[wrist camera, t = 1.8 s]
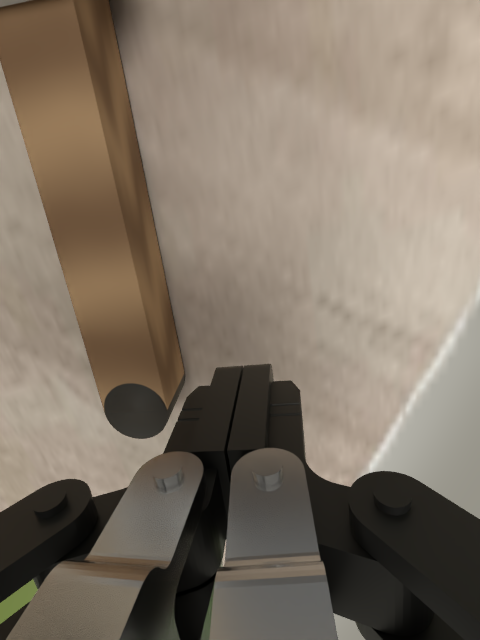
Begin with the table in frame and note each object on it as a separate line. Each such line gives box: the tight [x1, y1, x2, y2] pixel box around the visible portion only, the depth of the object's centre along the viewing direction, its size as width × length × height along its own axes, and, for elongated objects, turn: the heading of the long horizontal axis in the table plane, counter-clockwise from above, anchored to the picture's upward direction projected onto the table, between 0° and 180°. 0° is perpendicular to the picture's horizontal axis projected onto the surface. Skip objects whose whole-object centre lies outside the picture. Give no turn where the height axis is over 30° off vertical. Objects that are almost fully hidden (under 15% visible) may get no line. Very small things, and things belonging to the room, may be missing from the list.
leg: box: [0, 0, 185, 439], centre depth 19 cm, size 24×4×4 cm, turn 8°
